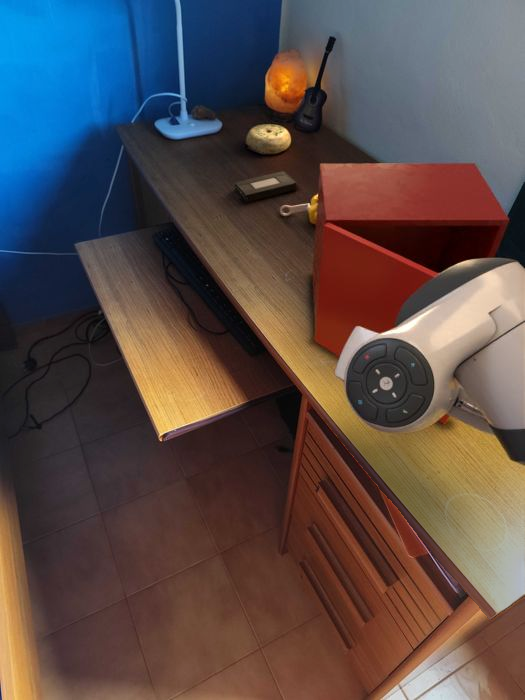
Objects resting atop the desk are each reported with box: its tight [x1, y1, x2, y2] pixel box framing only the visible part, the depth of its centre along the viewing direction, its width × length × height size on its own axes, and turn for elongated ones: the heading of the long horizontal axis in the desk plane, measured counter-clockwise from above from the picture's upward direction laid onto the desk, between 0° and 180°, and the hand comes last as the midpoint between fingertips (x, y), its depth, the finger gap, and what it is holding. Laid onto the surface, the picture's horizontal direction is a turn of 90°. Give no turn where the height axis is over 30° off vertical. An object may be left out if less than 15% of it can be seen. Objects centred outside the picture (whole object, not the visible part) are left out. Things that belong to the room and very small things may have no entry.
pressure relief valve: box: [279, 194, 318, 226], centre depth 110 cm, size 6×12×10 cm
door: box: [314, 222, 451, 425], centre depth 67 cm, size 7×26×24 cm, turn 45°
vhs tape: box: [234, 170, 297, 203], centre depth 122 cm, size 8×14×2 cm, turn 115°
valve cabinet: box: [311, 162, 510, 329], centre depth 81 cm, size 18×26×24 cm
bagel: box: [245, 123, 292, 155], centre depth 139 cm, size 14×13×5 cm
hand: (429, 382), depth 62 cm, fingers closed on door, 2 cm apart
